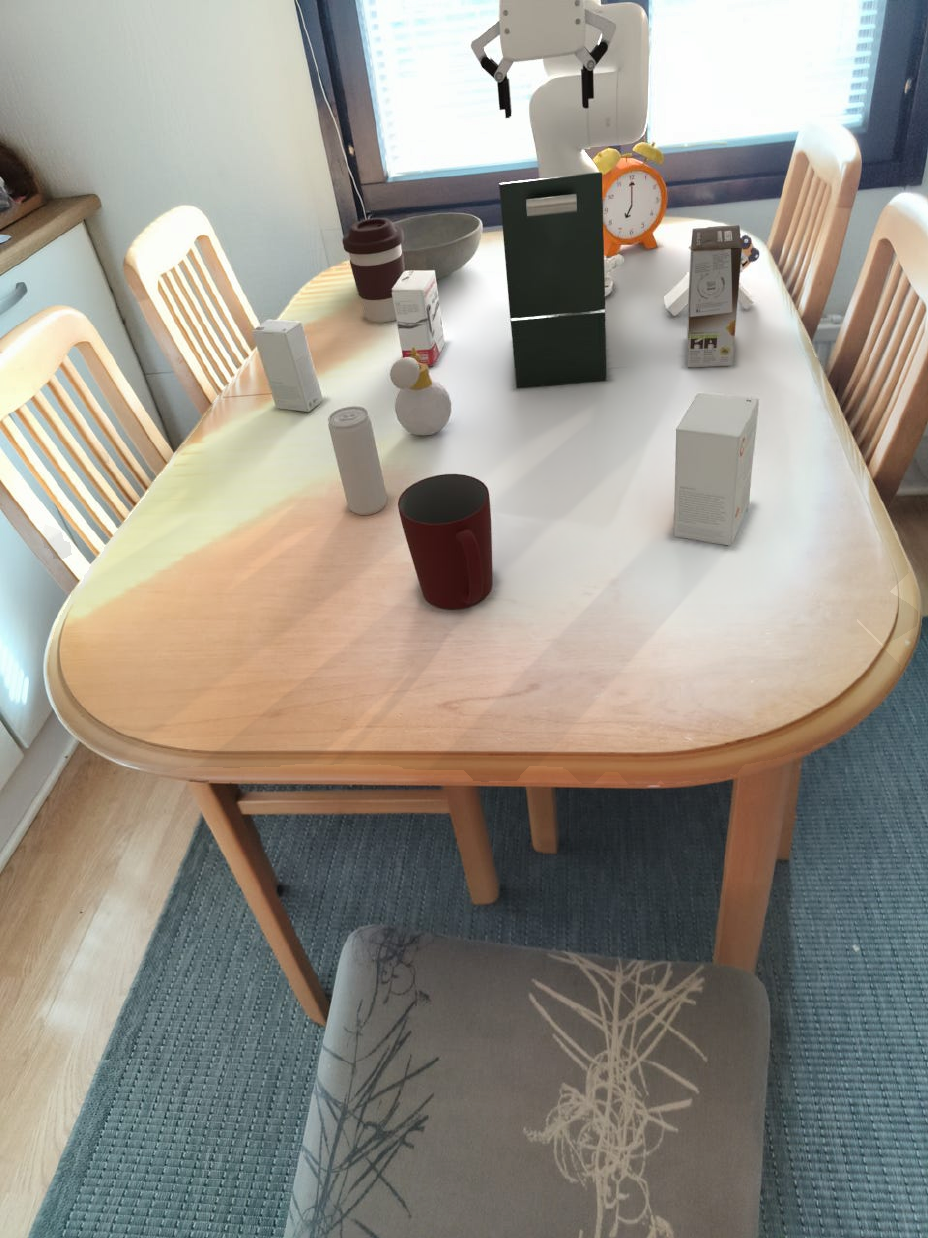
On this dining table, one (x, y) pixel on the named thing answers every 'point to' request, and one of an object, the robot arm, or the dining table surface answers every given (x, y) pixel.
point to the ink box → (419, 315)
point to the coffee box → (713, 295)
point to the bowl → (439, 241)
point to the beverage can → (357, 460)
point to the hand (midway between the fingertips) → (546, 110)
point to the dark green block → (554, 244)
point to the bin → (559, 349)
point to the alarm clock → (631, 197)
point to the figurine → (681, 291)
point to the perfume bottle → (419, 397)
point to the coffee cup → (375, 265)
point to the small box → (714, 467)
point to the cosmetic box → (288, 365)
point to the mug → (449, 538)
